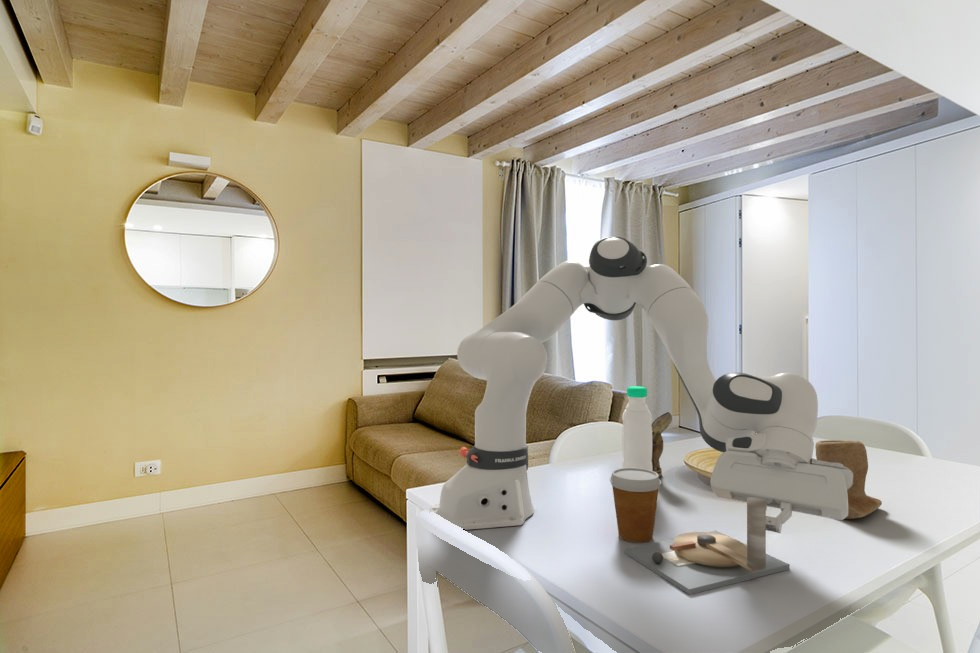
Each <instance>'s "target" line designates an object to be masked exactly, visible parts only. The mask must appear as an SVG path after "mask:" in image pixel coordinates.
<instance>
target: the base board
mask: <svg viewBox="0 0 980 653" xmlns="http://www.w3.org/2000/svg"><path fill="white" fill-rule="evenodd" d="M706 533H714V534H720V535H724V536H728V537H730V536H729V535H727V534H725V533H722V532H720V531H717V530H716V529H715V530H712V531H706ZM674 539H675V538H672V539H666V540H661V541H656V542H652V543H647V544H641V545H635V546H632V547H631V546H630V547H626V548H624V554H625V555H627V556H628V557H630V558H631V559H633V560H635V561H636V562H638V563H639V564H641V565H642V566H644V567H645V568H647V569H649V570H650V571H652V572H653V573H655V574H656V575H658V576H660V577H661V578H663V579H664V580H666V581H668V582H669V583H671V584H672V585H673V586H675V587H677V588H679V589H680V590H682V591H683V592H685V593H686V594H688V595H693V594H697V593H701V592H705V591H709V590H712V589H713V590H714V589H716V588H721V587H725V586H728V585H733V584H736V583H741V582H745V581H748V580H753V579H756V578H760V577H764V576H768V575H773V574H775V573H780V572H784V571H789V570H790V564H789V563H787V562H785V561H783V560H781V559H780V558H779V559H778V558H776V557H774V556H772V555H771V554H768V553H766V569H765V570H760V571H755V572H751V571H750V570H748V569H746V568H744V567H742V566H741V565H739V566H734V567H715V566H708V565H703V564H699V563H695V562H692V561H690V560H687V559H685V558H683V557H682V556H680V555H679V554H678V553H676V551H675V550H674V551H673V550H671V549H670V545H673V544H674ZM742 543H743V544H744V545H746V546H747V543H744V542H742Z"/></svg>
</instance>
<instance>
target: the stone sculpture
mask: <svg viewBox="0 0 980 653" xmlns="http://www.w3.org/2000/svg"><path fill="white" fill-rule="evenodd" d="M672 420H673V415H672V414H671V413H670V412H669V411H667V412H665V413H663V414H661V415H660V416H658V417H656V418H655V419H654V421H652V423H651V425H652V460H651V461H652V471H654V472H656V473H658V475H659V478H661V477H662V474H663V472H662V468H661V465H660V458H661V456H662V454H663V451H664V439H663V438H664V437H663V435H662V434H663V432H664V431H665V430H666V429H668V427H669V426H670V425H671V423H672Z"/></svg>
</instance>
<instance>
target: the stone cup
mask: <svg viewBox="0 0 980 653" xmlns="http://www.w3.org/2000/svg"><path fill="white" fill-rule="evenodd" d="M815 457H816V460H820V461H825V462H830V463H840V464H843V466H845V467H847V468H849V469H850V470H851V471H852V473H853V484H852V486H851V487H850V488H849V489H847V494H848V516H847V517H846V518H845V519H861V518H864V517H866V516H868V515H870V514H872V513H873V512H875V511H877V509H878V508H880V507H881V506H882V502H883V501H882V500H881V499H878V498H875V497H873V496H869V495H867V494H866V489H865V488H866V480H867V479H866V478H867V474H868V471H869V461H868V460H869V459H868V453H867V448H866V446H865V444H864V443H863V441H859V440H842V439H841V440H840V439H839V440H838V439H837V440H836V439H830V440H829V439H828V440H827V439H826V440H818V441H817V442H816V443H815Z"/></svg>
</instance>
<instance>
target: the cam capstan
mask: <svg viewBox="0 0 980 653" xmlns="http://www.w3.org/2000/svg"><path fill="white" fill-rule="evenodd" d="M766 516H767V510H766V500H764V499H762V498H758V497H748V498H747V502H746V545H747V546H746V545H744V544H745V543H744V542H741V541H740V540H738V539H735V538H733V537H731V536H729V535H727V536H724V535H720V534H714V533H706V532H707V531H706V532H703V531H702V532H701V531H694V532H693V531H692V532H685V533H682V534H681V533H680V534H679V535H677V536H676V537H675V538H673V539H674V544H673V545H670V549H671V550H673V551H674V550H675V551H676V553H678V554H679V555H680V556H682V557H683V558H685V559H687V560H690V561H692V562H695V563H699V564H703V565H708V566H715V567H734V566H739V565H741V566H742V567H744V568H746V569H748V570H750V571H751V572H755V571H760V570H765V569H766V554H767V552H766V550H767V546H766V545H767V536H766V534H767V533H766V531H767V530H766ZM728 536H729V537H728ZM743 543H744V544H743Z"/></svg>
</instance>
